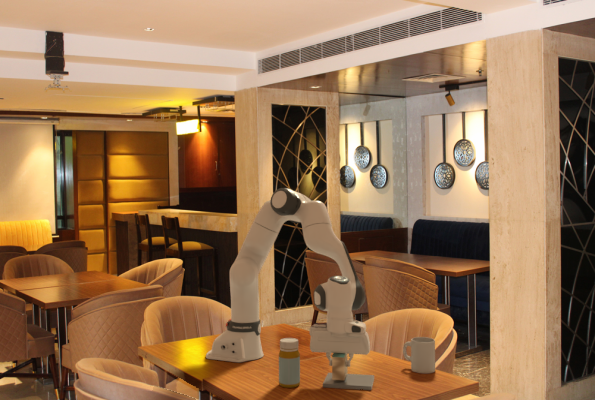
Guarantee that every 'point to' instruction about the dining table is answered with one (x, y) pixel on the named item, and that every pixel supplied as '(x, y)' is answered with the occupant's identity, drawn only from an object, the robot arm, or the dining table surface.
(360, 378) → the board
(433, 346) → the mug
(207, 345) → the dining table surface
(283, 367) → the bottle
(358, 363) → the dining table surface
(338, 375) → the block
